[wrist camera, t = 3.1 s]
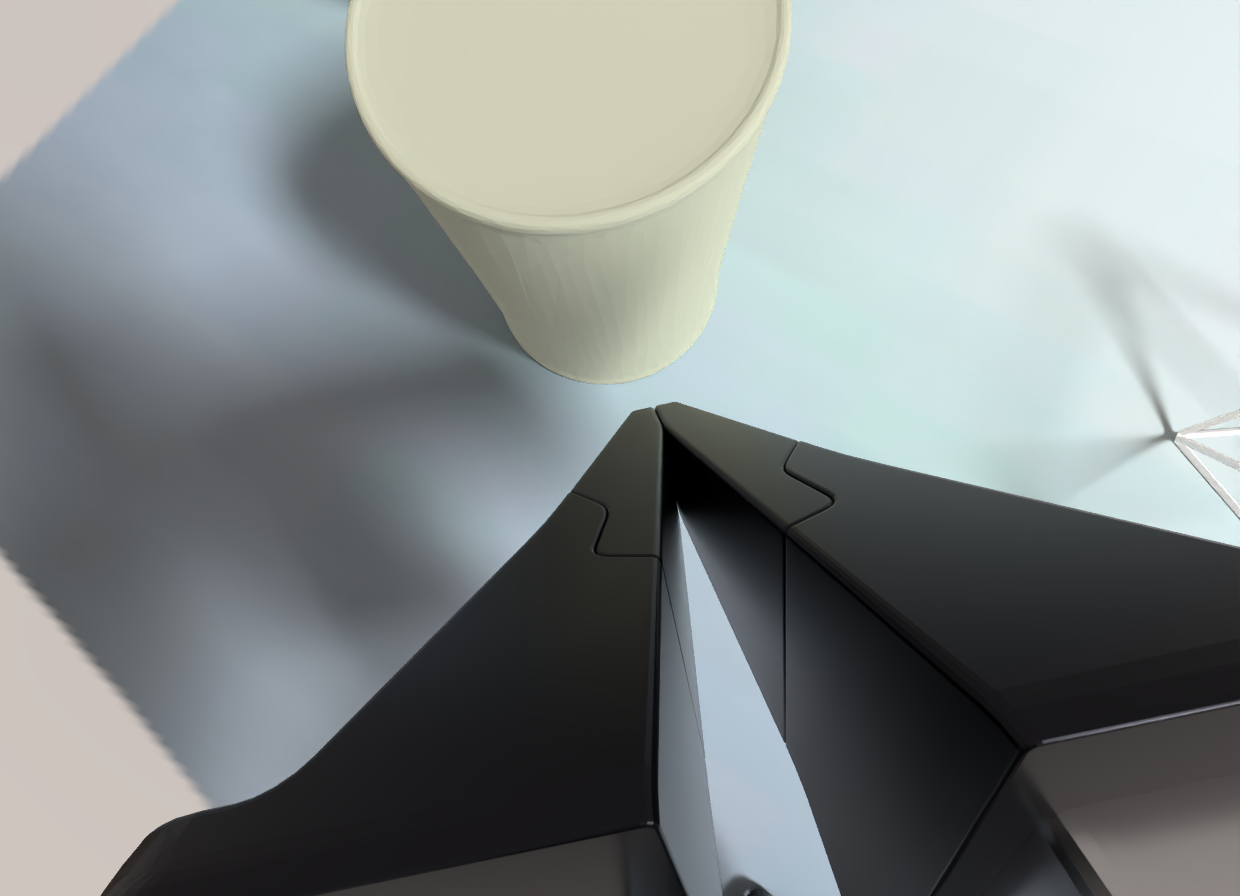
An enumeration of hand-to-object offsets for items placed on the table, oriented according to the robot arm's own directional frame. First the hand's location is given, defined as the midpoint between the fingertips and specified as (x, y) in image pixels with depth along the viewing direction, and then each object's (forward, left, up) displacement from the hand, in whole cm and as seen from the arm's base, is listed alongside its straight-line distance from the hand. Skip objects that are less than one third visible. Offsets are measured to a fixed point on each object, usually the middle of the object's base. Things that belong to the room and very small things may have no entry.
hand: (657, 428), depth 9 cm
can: (+7, -5, -11) cm, 14 cm away
